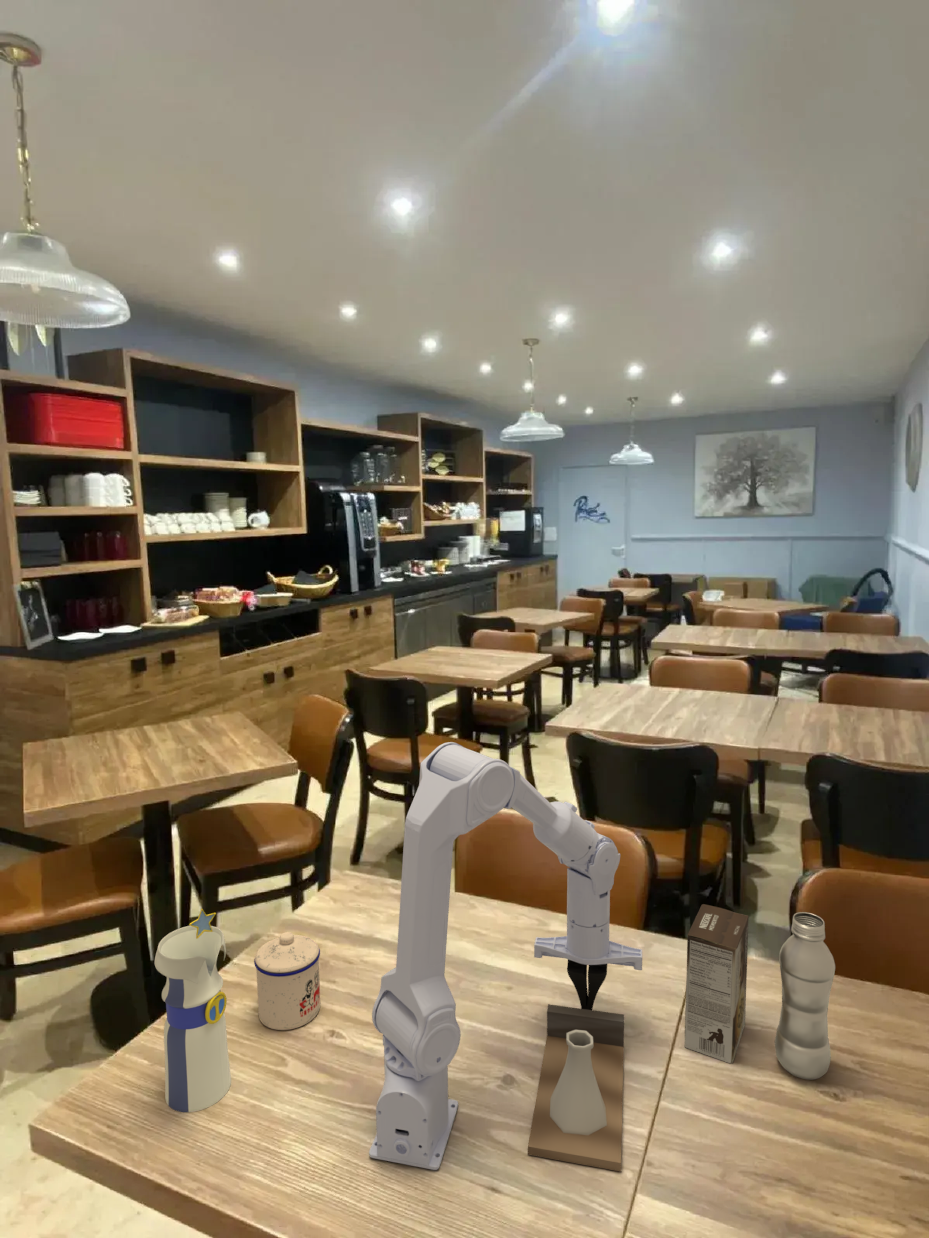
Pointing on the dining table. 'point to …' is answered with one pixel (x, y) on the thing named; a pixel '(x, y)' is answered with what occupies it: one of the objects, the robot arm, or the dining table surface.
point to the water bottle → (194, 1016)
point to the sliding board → (609, 1076)
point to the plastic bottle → (805, 999)
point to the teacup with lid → (288, 981)
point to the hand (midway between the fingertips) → (587, 1009)
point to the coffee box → (716, 982)
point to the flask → (578, 1090)
